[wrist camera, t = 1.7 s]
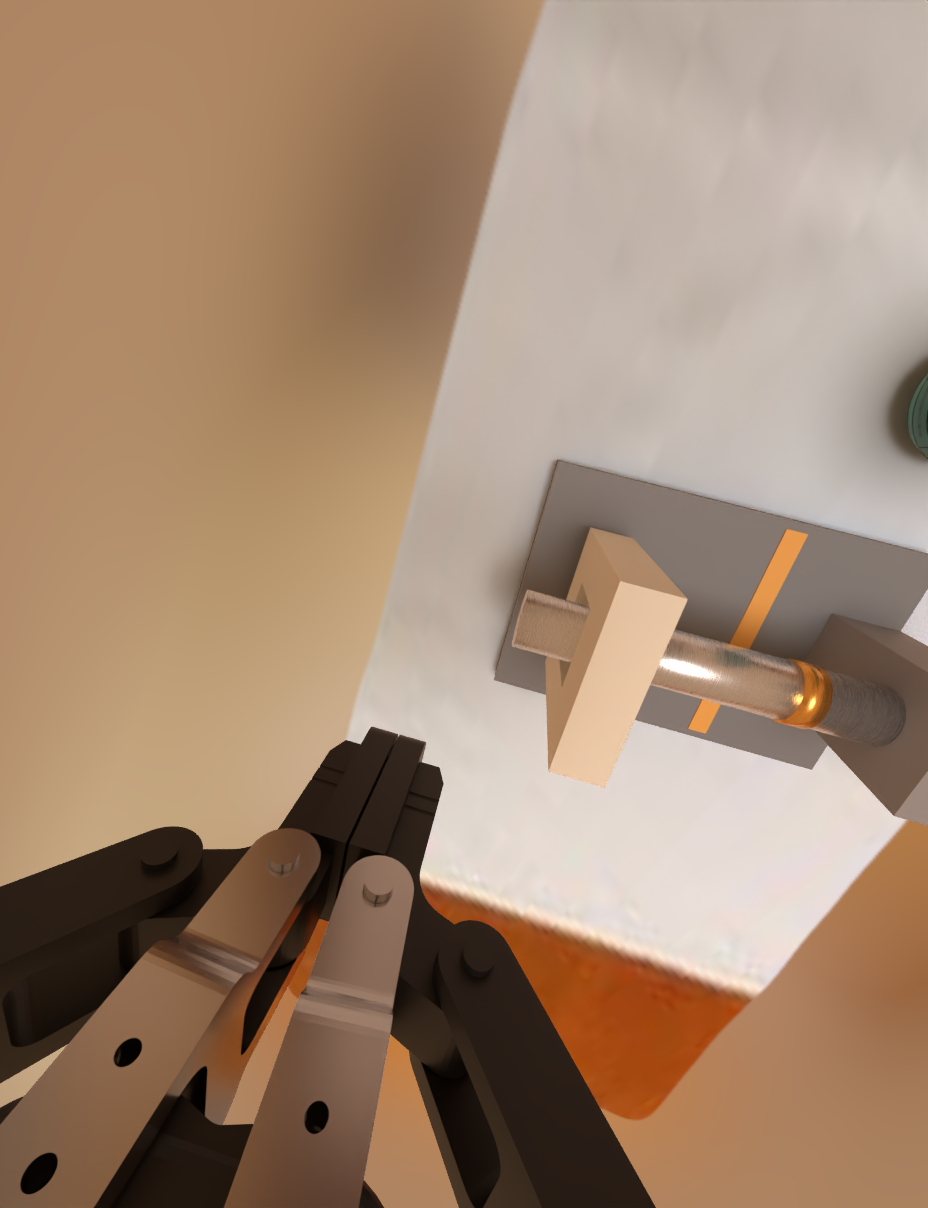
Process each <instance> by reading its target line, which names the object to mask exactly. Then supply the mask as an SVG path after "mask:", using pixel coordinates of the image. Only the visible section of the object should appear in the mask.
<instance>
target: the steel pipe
mask: <svg viewBox="0 0 928 1208" xmlns="http://www.w3.org/2000/svg"><path fill="white" fill-rule="evenodd" d="M589 611H590V607H589V606H587V605H583V604H579V603H576V602H572V601H568V600H565V599H561V598H557V597H553V596H550V595H546V594H542V593H539V592H535V591H531V590H527V591H526V593H525V596H524V599H523V602H522V605H521V609H520V612H519V616H518V619H517V623H516V627H515V631H514V635H513V640H512V647H516V648H520V649H523V650H527V651H530V652H534V653H538V654H541V655H545V656H548V657H552V658H556V659H559V660H563V661H566V662H570V663H571V661H572V658H573V656H574V653H575V650H576V647H577V645H578V642H579V639H580V636H581V634H582V631H583V628H584V625H585V622H586V620H587V617H588V614H589ZM650 685H653V686H656V687H660V688H664V689H667V690H671V691H674V692H678V693H682V694H685V695H689V696H692V697H696V698H700V699H703V700H707V701H710V702H714V703H718V704H721V705H725V706H728V707H732V708H736V709H739V710H743V711H746V712H750V713H754V714H757V715H761V716H764V717H768V718H770V719H771V720H773V721H775V722H778V723H782V724H786V725H789V726H793V727H796V728H800V729H811V730H815V731H818V732H822V733H826V734H829V735H833V736H836V737H840V738H844V739H847V740H851V741H854V742H858V743H862V744H865V745H869V746H873V747H882V746H885V745H888V744H890V743H891V742H893V741H894V740H895V739H896V738H897V737H898V736H899V735H900V733H901V731H902V730H903V727H904V724H905V720H906V708H905V704H904V701H903V699H902V697H901V696H900V695H899V693H898V692H896V691H895V690H894V689H892V688H890V687H887V686H883V685H879V684H875V683H872V682H868V681H864V680H861V679H857V678H853V677H850V676H846V675H842V674H838V673H835V672H831V671H827V670H825V669H823V668H822V667H820V666H817V665H813V664H809V663H806V662H802V661H798V660H794V659H783V658H779V657H776V656H772V655H768V654H764V653H761V652H757V651H753V650H750V649H746V648H742V647H739V646H735V645H731V644H727V643H724V642H720V641H716V640H713V639H709V638H705V637H701V636H698V635H694V634H690V633H687V632H683V631H679V630H676V629H675V630H674V632H673V634H672V636H671V639H670V641H669V643H668V645H667V648H666V650H665V652H664V655H663V657H662V659H661V661H660V664H659V666H658V668H657V670H656V673H655V675H654V677H653V680H652V682H651V684H650Z"/></svg>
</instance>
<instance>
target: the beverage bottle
mask: <svg viewBox="0 0 928 1208" xmlns="http://www.w3.org/2000/svg"><path fill="white" fill-rule="evenodd" d="M908 429H909V434H910V437H911V439H912V441H913V443H914V445H915V446H916V447H917V448H918V450H919V451H920V452H922V453H923V454H924V455H925V456H927V458H928V373H927V375H926V376H925V377H924V378H923V380H922V381H921V383H920V384H919V386H918V388H917V389H916V391H915V393H914V396H913V398H912V401H911V403H910V408H909V412H908Z"/></svg>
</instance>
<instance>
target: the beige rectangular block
mask: <svg viewBox="0 0 928 1208" xmlns="http://www.w3.org/2000/svg"><path fill="white" fill-rule="evenodd" d="M566 600H568V601H572V602H576V603H579V604H583V605H587V606H589V607H590V611H589V614H588V617H587V620H586V622H585V625H584V628H583V631H582V634H581V636H580V639H579V642H578V645H577V647H576V650H575V653H574V656H573V658H572V661H571V663H570V662H566V661H563V660H559V659H556V658H552V657H548V656H547V658H546V661H545V669H546V702H547V735H548V769H549V772H553V773H556V774H559V775H563V776H566V777H570V778H573V779H577V780H580V781H583V782H587V783H590V784H594V785H597V786H601V787H604V788H605V786H606V784H607V782H608V779H609V777H610V775H611V773H612V770H613V768H614V766H615V763H616V761H617V759H618V757H619V754H620V752H621V750H622V748H623V745H624V743H625V741H626V738H627V736H628V734H629V732H630V729H631V727H632V725H633V723H634V720H635V718H636V716H637V714H638V711H639V709H640V707H641V704H642V702H643V700H644V698H645V695H646V693H647V691H648V689H649V686H650V684H651V682H652V680H653V677H654V675H655V673H656V670H657V668H658V666H659V664H660V661H661V659H662V657H663V655H664V652H665V650H666V648H667V645H668V643H669V641H670V639H671V636H672V634H673V632H674V630H675V627H676V625H677V623H678V621H679V618H680V616H681V614H682V611H683V609H684V607H685V605H686V602H687V600H688V599H687V598H686V596H685V595H684V594H683V593H682V592H681V591H680V590H679V589H678V588H677V586H676V585H675V584H674V583H673V582H672V581H671V580H670V579H669V578H668V576H667V575H666V574H665V573H664V572H663V571H662V570H661V569H660V568H659V566H658V565H657V564H656V563H655V562H654V561H653V560H652V559H651V558H650V556H649V555H648V554H647V553H646V552H645V551H644V550H643V549H642V548H641V546H640V545H639V544H638V543H637V542H636V541H635V540H634V539H633V538H630V537H626V536H622V535H619V534H615V533H611V532H607V531H603V530H599V529H595V528H592V527H590V530H589V533H588V536H587V539H586V542H585V545H584V548H583V551H582V554H581V557H580V560H579V563H578V566H577V569H576V572H575V575H574V578H573V581H572V584H571V587H570V590H569V592H568V595H567V598H566Z"/></svg>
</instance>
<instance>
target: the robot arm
mask: <svg viewBox="0 0 928 1208" xmlns="http://www.w3.org/2000/svg"><path fill="white" fill-rule="evenodd" d="M425 746H426V742H423V741H420V740H417V739H413V738H410V737H406V736H403V735H399V737H398V734H396V733H392V732H389V731H385V730H382V729H378V728H375V727H371V728H370V729H369V731H368V733H367V735H366V736H365V738H364V740H363V742H362V743H361V744H357V743H354V742H351V741H347V740H345V741H344V742H342V743H341V744H339V745H338V746H336V747H335V748H333V749H332V750H330V751H329V753H328V755H327V756H326V758H325V759H324V761H323V762H322V764H321V765H320V768H318V770H317V771H316V773H315V774H314V776H313V778H312V780H311V781H310V782H309V783H308V785H307V787H306V788H305V790H304V791H303V793H302V794H301V796H300V797H299V799H298V800H297V802H296V803H295V805H294V806H293V808H292V809H291V811H290V812H289V814H288V815H287V817H286V818H285V820H284V821H283V823H282V824H281V826H280V827H279V828H278V830H274V831H271V832H269V833H267V834H265V835H263V836H262V837H261V838H259V839H258V840H257V841H256V842H255V843H254V844H253V845H252V846H250V847H246V848H241V849H204V850H203V844H202V841H201V839H200V838H199V836H198V835H196V833H195V832H193V831H191V830H189V829H187V828H183V827H163V828H158V829H155V830H151V831H149V832H146V833H143V834H141V835H138V836H135V837H132V838H130V839H127V840H124V841H122V842H119V843H116V844H114V845H111V846H108V847H106V848H103V849H100V850H98V851H95V852H92V853H90V854H87V855H84V856H82V857H79V858H77V859H74V860H71V861H68V862H66V863H63V864H60V865H57V866H55V867H52V868H49V869H47V870H44V871H42V872H39V873H36V874H34V875H31V876H28V877H25V878H23V879H20V880H18V881H15V882H12V883H9V884H7V885H4V886H1V887H0V1083H2V1082H3V1081H5V1080H7V1079H9V1078H10V1077H12V1076H14V1075H15V1074H17V1073H19V1072H21V1071H22V1070H24V1069H26V1068H27V1067H29V1066H31V1065H33V1064H34V1063H36V1062H38V1061H40V1060H41V1059H43V1058H45V1057H46V1056H48V1055H50V1054H52V1053H53V1052H55V1051H57V1050H58V1049H60V1048H62V1047H64V1046H65V1045H67V1044H68V1045H67V1046H66V1047H65V1049H64V1050H63V1051H62V1052H61V1053H60V1055H59V1056H58V1057H57V1058H56V1059H55V1060H54V1062H53V1063H52V1064H51V1065H50V1066H49V1068H48V1069H47V1070H46V1071H45V1072H44V1074H43V1075H42V1076H41V1077H40V1078H39V1079H38V1081H37V1082H36V1083H35V1084H34V1085H33V1087H32V1088H31V1089H30V1090H29V1091H28V1092H27V1094H26V1095H25V1096H24V1097H21V1098H19V1099H16V1100H14V1101H12V1102H10V1103H8V1104H6V1105H5V1106H3V1107H1V1108H0V1208H384V1207H383V1205H382V1204H381V1202H380V1200H379V1199H378V1197H377V1196H376V1194H375V1193H374V1192H373V1190H372V1189H371V1188H370V1187H369V1186H368V1184H367V1183H366V1182H365V1181H364V1175H365V1170H366V1164H367V1158H368V1153H369V1148H370V1142H371V1137H372V1131H373V1126H374V1119H375V1115H376V1109H377V1103H378V1098H379V1092H380V1087H381V1081H382V1076H383V1070H384V1065H385V1060H386V1054H387V1048H388V1043H389V1037H390V1034H391V1035H392V1036H393V1037H394V1038H395V1039H397V1040H398V1041H399V1042H400V1043H401V1044H402V1045H403V1046H404V1047H406V1048H407V1049H408V1050H409V1054H410V1061H411V1064H412V1068H413V1071H414V1074H415V1077H416V1080H417V1083H418V1086H419V1088H420V1092H421V1095H422V1098H423V1101H424V1104H425V1107H426V1110H427V1113H428V1116H429V1119H430V1122H431V1125H432V1128H433V1131H434V1134H435V1137H436V1140H437V1143H438V1146H439V1149H440V1152H441V1155H442V1158H443V1161H444V1164H445V1167H446V1170H447V1173H448V1176H449V1179H450V1182H451V1185H452V1188H453V1191H454V1194H455V1197H456V1200H457V1203H458V1206H459V1208H656V1207H655V1205H654V1204H653V1202H652V1200H651V1198H650V1196H649V1195H648V1193H647V1191H646V1189H645V1188H644V1186H643V1184H642V1182H641V1180H640V1179H639V1177H638V1175H637V1173H636V1172H635V1170H634V1168H633V1166H632V1164H631V1163H630V1161H629V1159H628V1157H627V1156H626V1154H625V1152H624V1150H623V1148H622V1147H621V1145H620V1143H619V1141H618V1139H617V1138H616V1136H615V1134H614V1132H613V1130H612V1129H611V1127H610V1125H609V1123H608V1122H607V1120H606V1118H605V1117H604V1115H603V1113H602V1111H601V1109H600V1107H599V1106H598V1104H597V1102H596V1100H595V1098H594V1097H593V1095H592V1093H591V1091H590V1089H589V1088H588V1086H587V1084H586V1082H585V1081H584V1079H583V1077H582V1075H581V1073H580V1072H579V1070H578V1068H577V1066H576V1065H575V1063H574V1061H573V1059H572V1057H571V1056H570V1054H569V1052H568V1050H567V1048H566V1047H565V1045H564V1043H563V1041H562V1040H561V1038H560V1036H559V1034H558V1032H557V1031H556V1029H555V1027H554V1025H553V1024H552V1022H551V1020H550V1018H549V1016H548V1015H547V1013H546V1011H545V1009H544V1007H543V1006H542V1004H541V1002H540V1000H539V999H538V997H537V995H536V993H535V991H534V990H533V988H532V986H531V984H530V983H529V981H528V979H527V977H526V975H525V974H524V972H523V970H522V968H521V966H520V965H519V963H518V961H517V959H516V958H515V956H514V954H513V952H512V950H511V949H510V947H509V945H508V944H507V942H506V940H505V939H504V938H503V937H502V935H501V934H500V933H499V932H498V931H496V930H495V929H494V928H492V927H491V926H489V925H487V924H485V923H483V922H479V921H473V920H468V921H462V922H459V923H457V924H455V925H454V924H453V923H451V922H450V921H449V920H447V919H446V918H445V917H443V916H442V915H440V914H439V913H438V912H437V911H435V910H434V909H433V908H432V906H431V905H430V904H429V903H428V901H427V900H426V898H425V896H424V894H423V892H422V889H421V886H420V869H421V865H422V861H423V858H424V854H425V850H426V847H427V843H428V839H429V836H430V832H431V828H432V824H433V821H434V817H435V813H436V810H437V806H438V802H439V798H440V795H441V791H442V787H443V780H442V776H441V772H440V768H439V767H436V766H433V765H429V764H426V763H422V758H423V754H424V750H425ZM319 919H322V920H326V921H329V923H328V926H327V929H326V931H325V934H324V937H323V940H322V943H321V946H320V949H319V952H318V955H317V957H316V960H315V963H314V966H313V969H312V972H311V975H310V978H309V980H308V983H307V985H306V988H305V990H303V991H302V992H301V994H300V996H299V998H298V1001H297V1003H296V1006H295V1009H294V1011H293V1014H292V1017H291V1020H290V1022H289V1025H288V1028H287V1031H286V1034H285V1036H284V1039H283V1042H282V1045H281V1048H280V1051H279V1053H278V1056H277V1059H276V1062H275V1065H274V1068H273V1070H272V1073H271V1076H270V1079H269V1082H268V1085H267V1088H266V1090H265V1093H264V1096H263V1099H262V1101H261V1104H260V1107H259V1110H258V1113H257V1116H256V1118H255V1121H254V1124H243V1125H242V1124H241V1125H222V1124H223V1122H224V1120H225V1118H226V1116H227V1113H228V1111H229V1109H230V1107H231V1104H232V1102H233V1099H234V1097H235V1094H236V1091H237V1088H238V1085H239V1082H240V1080H241V1077H242V1074H243V1072H244V1070H245V1068H246V1065H247V1063H248V1061H249V1059H250V1057H251V1055H252V1053H253V1051H254V1049H255V1048H256V1046H257V1044H258V1042H259V1040H260V1038H261V1036H262V1034H263V1033H264V1031H265V1029H266V1027H267V1025H268V1023H269V1021H270V1019H271V1017H272V1015H273V1014H274V1012H275V1010H276V1008H277V1006H278V1004H279V1002H280V1000H281V999H282V997H283V994H284V993H285V991H286V989H287V987H288V985H289V983H290V982H291V980H292V978H293V976H294V974H295V972H296V970H297V968H298V966H299V964H300V963H301V961H302V959H303V956H304V954H305V950H306V946H307V944H308V942H309V940H310V938H311V936H312V933H313V931H314V929H315V927H316V925H317V922H318V920H319Z"/></svg>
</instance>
